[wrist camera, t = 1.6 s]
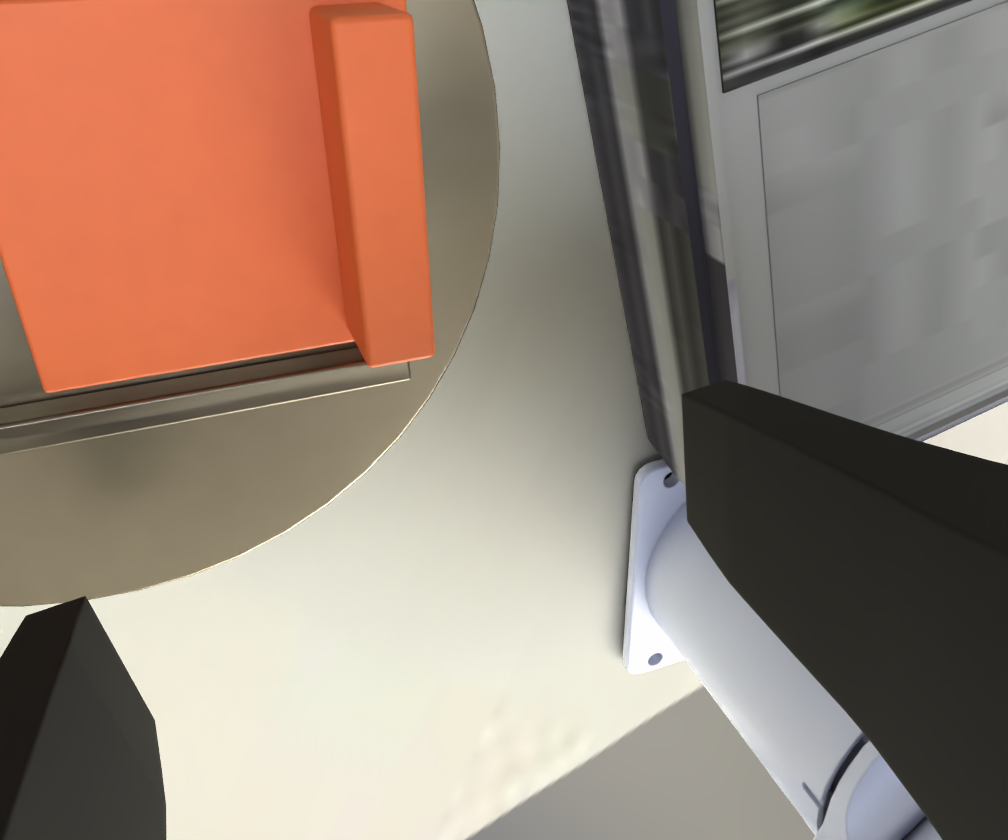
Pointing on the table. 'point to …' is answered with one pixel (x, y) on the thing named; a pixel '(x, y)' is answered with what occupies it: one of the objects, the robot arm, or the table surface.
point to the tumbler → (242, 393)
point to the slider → (211, 183)
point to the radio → (806, 201)
